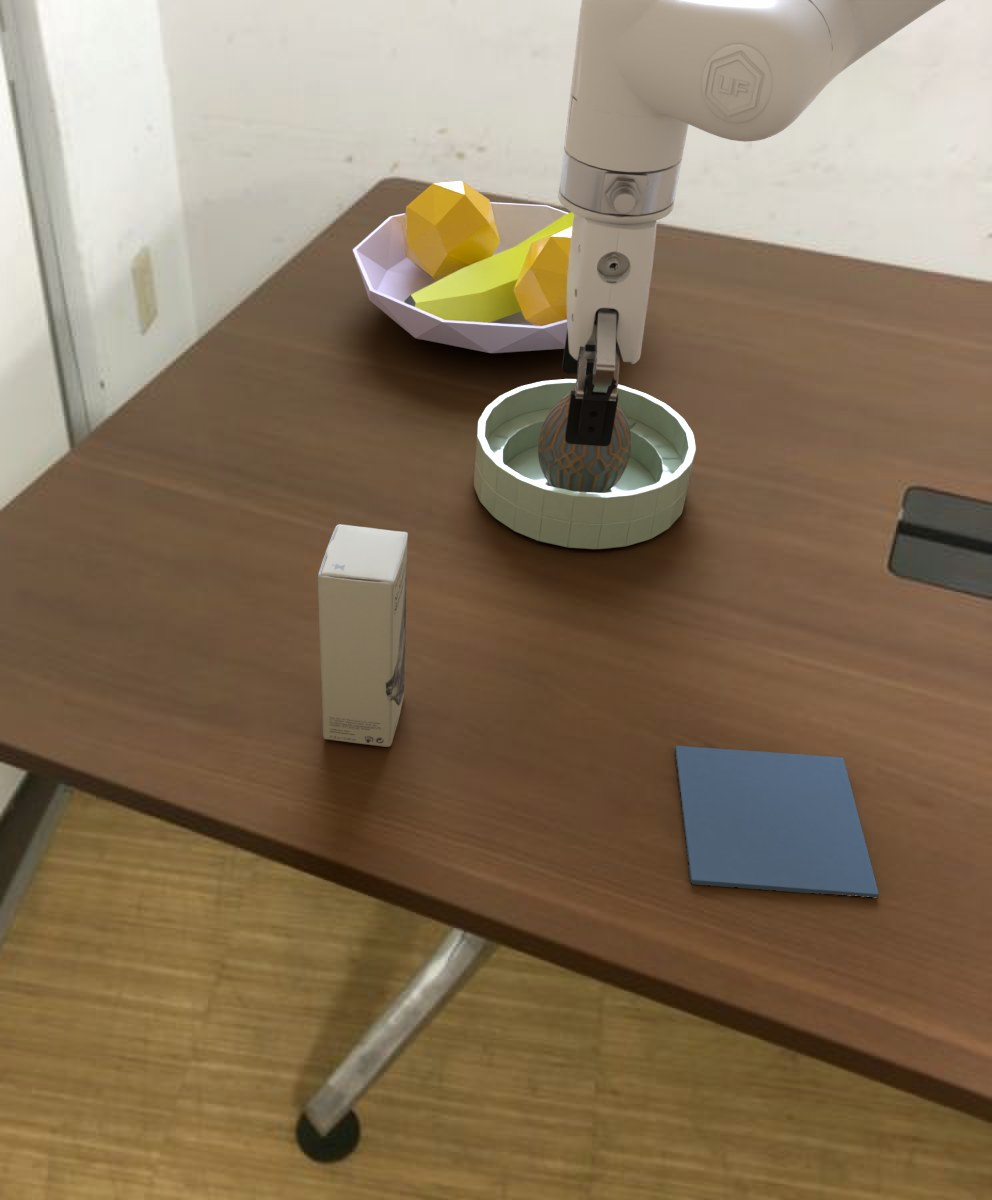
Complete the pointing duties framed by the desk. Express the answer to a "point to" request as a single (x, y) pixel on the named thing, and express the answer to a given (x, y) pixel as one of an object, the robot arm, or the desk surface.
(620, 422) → the vase
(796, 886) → the mat
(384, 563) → the box
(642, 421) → the bowl
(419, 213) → the fruit bowl
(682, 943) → the desk surface
